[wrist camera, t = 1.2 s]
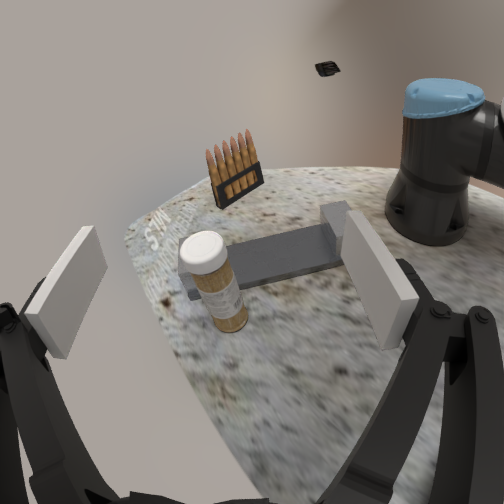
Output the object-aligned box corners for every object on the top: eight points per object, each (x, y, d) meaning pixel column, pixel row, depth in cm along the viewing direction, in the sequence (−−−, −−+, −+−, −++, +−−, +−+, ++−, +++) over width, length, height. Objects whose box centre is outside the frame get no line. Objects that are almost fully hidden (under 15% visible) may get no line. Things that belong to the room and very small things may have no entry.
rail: (343, 224, 48) (343, 198, 44) (362, 259, 42) (365, 232, 38) (190, 260, 48) (179, 236, 45) (190, 300, 42) (177, 277, 39)
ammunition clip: (258, 179, 61) (247, 126, 53) (264, 182, 60) (254, 128, 52) (216, 206, 57) (199, 150, 49) (222, 209, 56) (205, 152, 48)
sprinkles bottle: (227, 299, 41) (197, 224, 32) (255, 312, 39) (232, 235, 30) (207, 325, 39) (169, 253, 30) (236, 339, 37) (203, 267, 27)
